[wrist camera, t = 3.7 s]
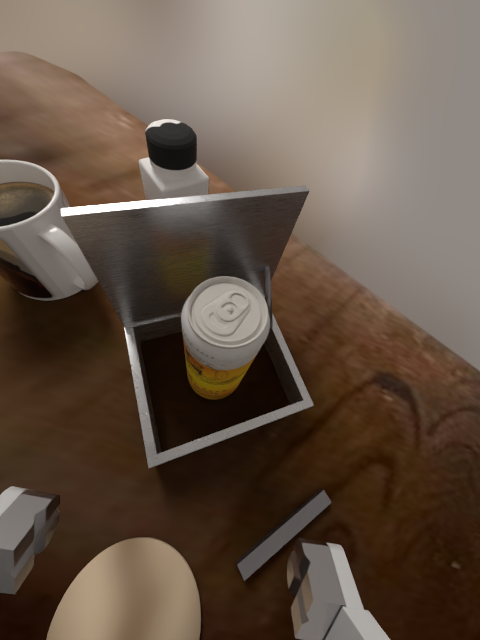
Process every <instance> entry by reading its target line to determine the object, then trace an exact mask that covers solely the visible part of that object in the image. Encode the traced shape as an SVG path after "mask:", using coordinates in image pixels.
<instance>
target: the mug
mask: <svg viewBox="0 0 480 640" xmlns="http://www.w3.org/2000/svg"><path fill="white" fill-rule="evenodd" d="M62 208H71V206H70V205H69V203H68V201H67V199H66V197H65V195H64V193H63V191H62V189H61V187H60V185H59V183H58V181H57V180H56V178H55V177H54V176H53V175H52V174H51V173H50V172H49V171H47V170H46V169H44V168H42V167H40V166H38V165H35V164H33V163H29V162H25V161H18V160H0V276H2V277H3V278H4V279H5V280H6V281H7V282H8V283H9V284H10V285H11V286H12V287H14V288H15V289H16V290H17V291H18V292H19V293H20V294H22V295H24V296H26V297H29V298H31V299H36V300H44V301H50V300H58V299H63V298H66V297H69V296H72V295H74V294H76V293H78V292H79V291H81V290H90V289H91V288H92V287H94V286H95V285H96V284H97V283H98V280H97V278H96V276H95V274H94V273H93V271H92V269H91V267H90V266H89V264H88V262H87V260H86V259H85V257H84V255H83V253H82V251H81V250H80V248H79V246H78V244H77V243H76V241H75V239H74V237H73V236H72V234H71V232H70V230H69V228H68V227H67V225H66V223H65V221H64V220H63V218H62V216H61V209H62Z"/></svg>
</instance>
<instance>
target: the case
mask: <svg viewBox="0 0 480 640" xmlns="http://www.w3.org/2000/svg"><path fill="white" fill-rule="evenodd" d="M308 193H309V190H308V188H307V187H306V186H297V187H286V188H276V189H264V190H254V191H243V192H232V193H222V194H211V195H200V196H190V197H179V198H168V199H158V200H147V201H137V202H126V203H115V204H105V205H94V206H83V207H73V208H62V209H61V216H62V218H63V220H64V221H65V223H66V225H67V227H68V228H69V230H70V232H71V234H72V236H73V237H74V239H75V241H76V243H77V244H78V246H79V248H80V250H81V251H82V253H83V255H84V257H85V259H86V260H87V262H88V264H89V266H90V267H91V269H92V271H93V273H94V274H95V276H96V278H97V280H98V282H99V283H100V285H101V287H102V289H103V290H104V292H105V294H106V296H107V297H108V299H109V301H110V303H111V305H112V306H113V308H114V310H115V312H116V313H117V315H118V317H119V319H120V320H121V322H122V324H123V326H124V328H125V334H126V340H127V346H128V351H129V357H130V363H131V369H132V375H133V380H134V386H135V392H136V398H137V404H138V409H139V415H140V421H141V427H142V433H143V438H144V444H145V450H146V456H147V461H148V467H149V468H152V467H155V466H158V465H160V464H163V463H166V462H168V461H171V460H174V459H176V458H179V457H181V456H184V455H187V454H189V453H192V452H195V451H197V450H200V449H202V448H205V447H208V446H210V445H213V444H216V443H218V442H221V441H223V440H226V439H229V438H231V437H234V436H237V435H239V434H242V433H244V432H247V431H250V430H252V429H255V428H258V427H260V426H263V425H265V424H268V423H271V422H273V421H276V420H278V419H281V418H284V417H286V416H289V415H292V414H294V413H297V412H299V411H302V410H304V409H307V408H309V407H311V406H314V405H313V402H312V400H311V398H310V396H309V394H308V391H307V389H306V387H305V385H304V382H303V380H302V378H301V376H300V374H299V371H298V369H297V367H296V365H295V362H294V360H293V358H292V356H291V354H290V351H289V349H288V347H287V345H286V342H285V340H284V338H283V336H282V334H281V331H280V329H279V327H278V325H277V322H276V320H275V318H274V316H273V314H272V299H271V279H272V277H273V275H274V272H275V270H276V268H277V265H278V263H279V261H280V258H281V256H282V254H283V251H284V249H285V247H286V244H287V242H288V240H289V237H290V235H291V233H292V230H293V228H294V225H295V223H296V221H297V219H298V216H299V214H300V212H301V209H302V207H303V205H304V202H305V200H306V197H307V195H308ZM221 276H229V277H235V278H239V279H242V280H244V281H246V282H248V283H250V284H251V285H253V286H254V287H255V288H256V289H257V290H258V291H259V292H260V293H261V294H262V296H263V297H264V299H265V301H266V304H267V307H268V313H269V317H270V329H269V333H268V336H267V338H266V340H265V342H264V343H265V346H266V348H267V351H268V353H269V355H270V358H271V360H272V363H273V365H274V368H275V370H276V372H277V375H278V377H279V380H280V382H281V385H282V387H283V389H284V392H285V394H286V397H287V399H288V401H289V404H290V405H289V406H286V407H284V408H281V409H278V410H275V411H273V412H270V413H267V414H265V415H262V416H259V417H256V418H254V419H251V420H248V421H246V422H243V423H240V424H238V425H235V426H232V427H229V428H227V429H224V430H221V431H219V432H216V433H213V434H210V435H208V436H205V437H202V438H200V439H197V440H194V441H191V442H189V443H186V444H183V445H181V446H178V447H175V448H172V449H170V450H167V451H164V452H162V451H161V445H160V440H159V435H158V430H157V425H156V420H155V415H154V410H153V405H152V400H151V394H150V389H149V384H148V379H147V374H146V369H145V364H144V359H143V354H142V349H141V343H140V342H142V341H146V340H150V339H154V338H159V337H163V336H167V335H171V334H175V333H179V332H182V324H181V314H182V309H183V306H184V304H185V302H186V300H187V299H188V297H189V296H190V295H191V293H192V292H193V291H194V289H195V288H196V287H197V286H198V285H200V284H201V283H203V282H204V281H206V280H208V279H211V278H215V277H221Z"/></svg>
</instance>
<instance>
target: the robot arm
mask: <svg viewBox="0 0 480 640" xmlns="http://www.w3.org/2000/svg"><path fill="white" fill-rule="evenodd" d="M59 504H60V495H54V494H49V493H44V492H39V491H33V490H29V489H24V488H18V487H13V486H11V487H10V488H8V489H7V490H5V491H4V492H3V493H2V494H1V495H0V592H1V593H9V594H15V593H16V592H17V590H18V589H19V587H20V586H21V584H22V583H23V581H24V580H25V578H26V577H27V575H28V574H29V572H30V571H31V569H32V568H33V566H34V556H35V555H36V554H38V553H39V552H41V551H42V550H43V549H45V548H46V546H47V544H48V543H49V541H50V540H51V538H52V536H53V534H54V532H55V530H56V528H57V525H58V522H59V516H60V513H59V511H58V510H57V509H56V508H57V507H58V505H59ZM294 546H295V551H293V552H292V553H290V556H289V559H288V565H287V580H288V588H289V591H290V592H291V594H292V596H293V597H294V602H293V604H292V607H291V611H292V618H293V625H294V632H295V638H298V639H303V640H390V639H389V638H388V636H387V635H386V633H385V632H384V631H383V629H382V628H381V627H380V625H379V624H378V623H377V621H376V620H375V619H374V617H373V616H372V615H371V613H370V612H369V611H367V610H364V608H363V605H362V602H361V599H360V596H359V593H358V591H357V588H356V585H355V582H354V579H353V576H352V573H351V570H350V567H349V564H348V561H347V558H346V555H345V552H344V549H343V548H342V546H341V545H338V544H332V543H326V542H323V541H317V540H310V539H304V538H297V539H296V541H295V543H294Z"/></svg>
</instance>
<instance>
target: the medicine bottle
mask: <svg viewBox="0 0 480 640" xmlns="http://www.w3.org/2000/svg"><path fill="white" fill-rule="evenodd" d="M145 134H146V141H147V147H148V153H149V158H144V159H140V160H139V166H140V172H141V177H142V182H143V187H144V192H145V197H146V201H147V200H158V199H168V198H179V197H190V196H200V195H208V194H209V177H208V176H207V175H206V174H205V173H204V172H203V171H202V169H201V168H200V167H199V166H198V165H197V157H196V156H197V155H196V154H197V153H196V152H197V148H196V146H197V144H196V143H197V139H196V134H195V133H194V131H193V130H192V128H190V127H189V126H188V125H186V124H184V123H182V122H179V121H176V120H170V119H164V120H159V121H155V122H153V123H151V124H150V125H149V126H148V128H147V129H146V132H145Z"/></svg>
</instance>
